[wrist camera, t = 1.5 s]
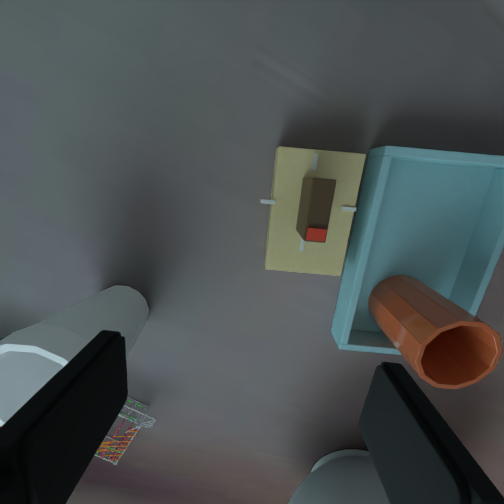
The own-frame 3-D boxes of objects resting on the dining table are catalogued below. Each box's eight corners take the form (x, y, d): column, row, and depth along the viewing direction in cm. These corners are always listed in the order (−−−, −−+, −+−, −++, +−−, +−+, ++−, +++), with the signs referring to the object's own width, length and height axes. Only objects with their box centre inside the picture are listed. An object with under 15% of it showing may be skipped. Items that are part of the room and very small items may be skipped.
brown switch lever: (302, 177, 23) (314, 177, 18) (322, 179, 23) (337, 179, 18) (295, 229, 24) (304, 242, 20) (313, 231, 24) (326, 244, 20)
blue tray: (369, 149, 25) (386, 145, 21) (502, 161, 25) (540, 158, 21) (330, 331, 31) (339, 349, 28) (436, 340, 31) (457, 359, 28)
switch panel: (265, 148, 25) (266, 144, 22) (354, 156, 25) (368, 153, 22) (254, 259, 28) (254, 269, 25) (333, 266, 28) (342, 276, 25)
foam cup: (173, 296, 30) (113, 380, 18) (144, 350, 33) (75, 456, 20) (100, 259, 29) (-18, 322, 17) (76, 318, 31) (-42, 411, 19)
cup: (375, 272, 28) (430, 317, 19) (432, 277, 28) (515, 325, 19) (362, 322, 30) (407, 385, 21) (416, 327, 30) (484, 392, 21)
